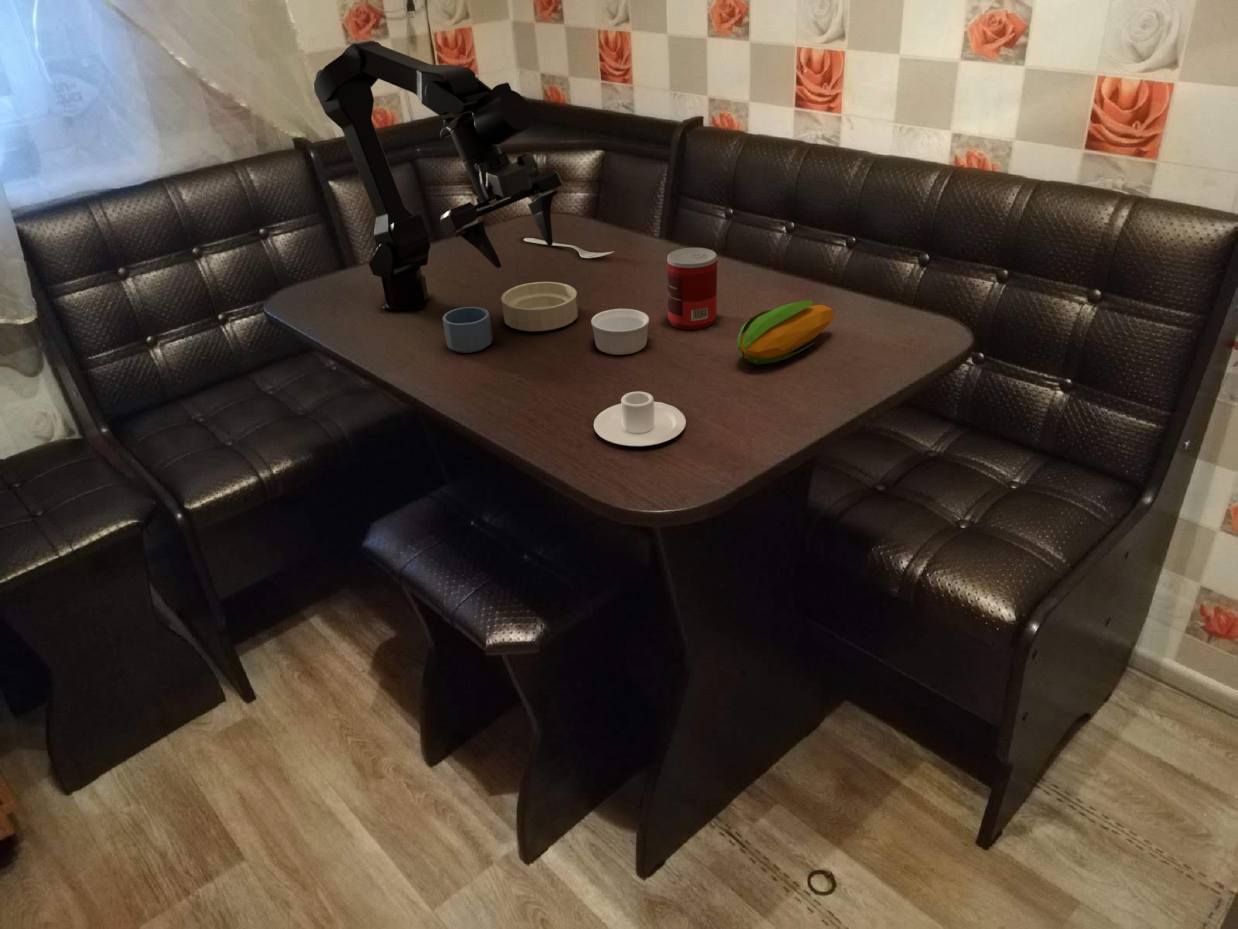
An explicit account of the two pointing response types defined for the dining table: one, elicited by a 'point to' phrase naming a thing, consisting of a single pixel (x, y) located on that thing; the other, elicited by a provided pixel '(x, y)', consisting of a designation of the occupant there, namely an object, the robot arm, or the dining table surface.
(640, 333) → the ramekin
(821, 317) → the corn
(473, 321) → the slate bowl
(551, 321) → the cream bowl
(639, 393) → the candle holder
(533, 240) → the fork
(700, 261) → the canned food
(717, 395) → the dining table surface
